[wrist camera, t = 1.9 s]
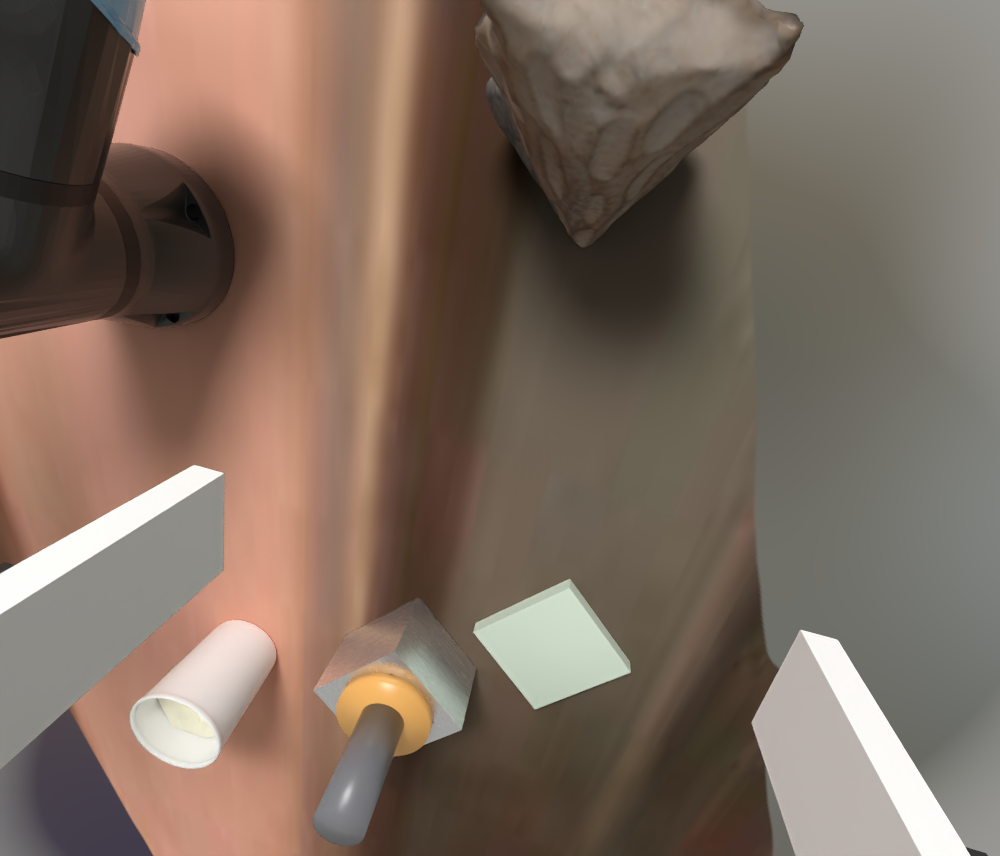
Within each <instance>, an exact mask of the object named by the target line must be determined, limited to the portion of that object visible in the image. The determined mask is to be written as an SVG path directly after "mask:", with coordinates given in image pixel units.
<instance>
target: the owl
mask: <svg viewBox="0 0 1000 856" xmlns="http://www.w3.org/2000/svg"><path fill="white" fill-rule="evenodd" d="M480 4H481V6H482V8H483V9H484V11H485V12H484V13H483V15H482V16H481V18H480V20H479V22H478V23H477V25H476V26H475V31H476V37H475V39H476V41H475V45H476V47H477V49H478V51H479V52H480V56H481V58H482V59H483V62H484V64H485V66H486V67H487V69H488V71H489V73H490V75H491V78H490V80H489V81H488V83H487V86H486V97H487V100H488V103H489V105H490V108H491V110H492V112H493V115H494V117H495V119H496V121H497V123H498V125H499V126H500V128H501V130H502V131H503V132H504V134H505V135H506V137H507V138H508V140H509V141H510V142H511V144H512V145H513V146H514V148H515V149H516V150H517V152H518V154H519V156H520V158H521V160H522V161H523V163H524V164H525V166H526V168H527V169H528V171H529V172H530V173H531V175H532V177H533V178H534V180H535V181H536V183H538V184H539V185H540V186H541V187H542V189H543V191H544V192H545V194H546V196H547V198H548V200H549V203H550V205H551V206H552V208H553V209H554V211H555V213H556V215H557V217H558V218H559V219H560V221H561V222H562V223H563V224H564V225H565V228H566V231H567V233H568V235H569V236H571V237H572V239H573V240H574V242H575V243H576V244H578V246H579V247H580V248H585V247H587V246H590V245H591V244H593V243H594V242H595V241H596V240H597V239H598V238H599V237H600V236H602V235H603V234H604V232H605V231H606V230H607V229H608V228H609V227H610V225H611V224H612V223H613V222H614V221H615V220H616V219H618V218H619V217H621V216H622V215H623V214H624V213H625V212H626V211H627V210H628V209H630V208H631V207H632V206H633V205H634V204H635V203H636V202H638V201H639V200H640V199H641V198H643V197H644V196H645V195H646V194H648V193H649V192H650V191H651V190H653V189H654V188H655V187H656V186H657V185H658V184H659V183H660V182H661V181H662V180H663V179H665V178H666V177H667V176H668V175H669V174H671V173H672V172H673V170H674V169H675V168H676V166H677V165H678V164H679V163H680V161H681V160H682V159H683V158H684V157H685V156H686V155H687V154H688V153H690V152H691V151H692V150H694V149H695V148H696V147H698V146H699V145H700V144H702V143H703V142H704V141H705V140H706V139H707V138H708V137H709V136H711V135H712V134H713V133H714V132H716V131H717V130H718V129H719V128H720V127H721V126H722V125H723V124H724V123H725V122H726V121H728V119H729V118H731V117H732V116H733V115H735V114H736V113H737V112H738V111H739V110H740V109H742V108H743V107H744V106H745V105H746V104H747V103H748V102H749V101H750V100H751V99H752V98H753V97H754V96H755V95H756V94H757V93H758V92H759V91H760V90H761V89H762V88H763V87H765V86H766V84H767V83H768V82H769V80H770V79H771V78H772V77H773V76H774V75H776V74H778V73H779V72H780V71H781V69H782V68H783V67H784V65H785V64H786V63H787V62H788V61H789V59H790V57H791V54H792V51H793V48H794V46H795V43H796V41H797V40H798V38H799V37H800V34H801V31H802V28H803V26H804V25H803V23H802V22H800V20H799V18H798V16H797V15H796V14H793V13H787V12H778V11H773V10H770V9H767V8H765V7H764V6H763V5H762V4H761V3H760V2H759V1H758V0H480Z"/></svg>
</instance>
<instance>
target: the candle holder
mask: <svg viewBox="0 0 1000 856" xmlns="http://www.w3.org/2000/svg"><path fill="white" fill-rule="evenodd" d="M276 656H277V653H276V648H275V645H274V643H273V641H272V640H271V638H270V637H269V636H268V634H267V633H266V632H264V631H263V630H262V629H261V628H259V627H258V626H256V625H254V624H252V623H250V622H247V621H242V620H229V621H226V622H223V623H221V624H220V625H219V626H217V627H216V628H215V629H214V630H213V631H212V632H211V633H209V634H208V635H207V636H206V637H205V638H204V639H203V640H202V641H201V642H200V643H199V644H198V645H197V646H196V647H195V648H194V649H193V650H192V651H191V652H189V653H188V654H187V655H186V656H185V657H184V658H183V659H182V660H181V661H180V662H179V663H178V664H177V665H176V666H175V667H174V668H173V669H172V670H171V671H170V672H169V673H167V674H166V675H165V676H164V677H163V678H162V679H161V680H160V681H159V682H158V683H157V684H156V685H155V686H154V687H153V688H152V689H151V690H150V691H149V692H148V693H147V694H145V695H144V696H143V697H142V698H141V699H139V700H138V701H137V702H136V703H135V704H134V706H133V707H132V709H131V712H130V725H131V728H132V731H133V733H134V735H135V737H136V738H137V740H138V741H139V742H140V743H141V745H142V746H143V747H144V748H145V749H146V750H147V751H149V752H150V753H151V754H152V755H154V756H155V757H157V758H159V759H160V760H162V761H164V762H166V763H168V764H171V765H174V766H177V767H181V768H188V769H197V768H203V767H206V766H208V765H210V764H211V763H213V762H214V761H215V760H216V759H217V758H218V756H219V755H220V753H221V750H222V749H223V747H224V745H225V744H226V742H227V740H228V739H229V737H230V736H231V734H232V732H233V731H234V729H235V728H236V726H237V724H238V723H239V721H240V720H241V718H242V716H243V715H244V713H245V712H246V710H247V708H248V707H249V705H250V704H251V702H252V700H253V699H254V697H255V696H256V694H257V692H258V691H259V689H260V688H261V686H262V684H263V683H264V681H265V680H266V678H267V676H268V675H269V673H270V671H271V670H272V668H273V666H274V664H275V662H276Z"/></svg>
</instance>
